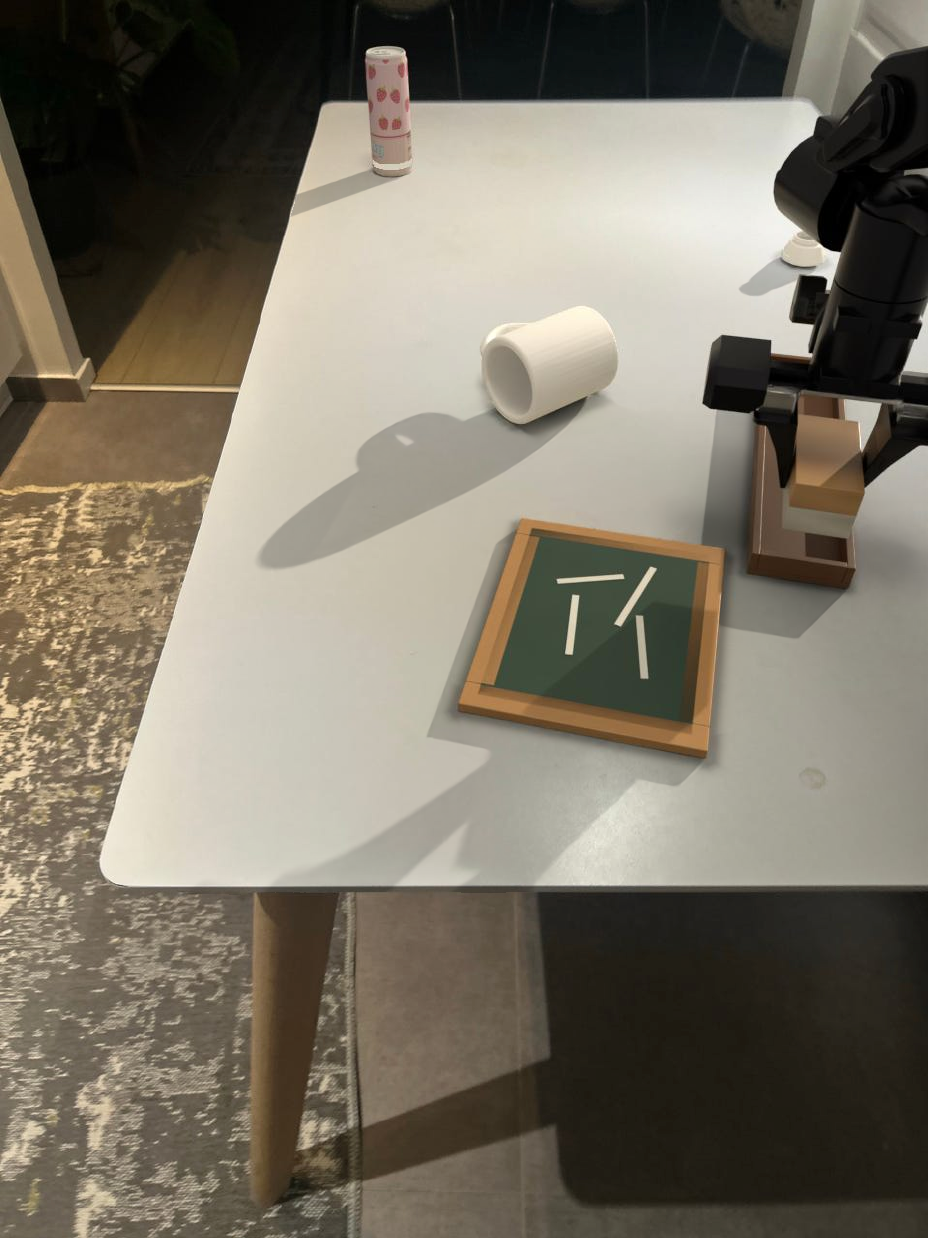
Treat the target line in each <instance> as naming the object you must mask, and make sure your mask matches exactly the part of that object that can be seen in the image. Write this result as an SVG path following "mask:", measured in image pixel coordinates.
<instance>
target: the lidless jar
mask: <svg viewBox="0 0 928 1238" xmlns="http://www.w3.org/2000/svg"><path fill="white" fill-rule="evenodd" d="M783 248H784V250H783ZM783 248H782V249H781V250H780V258H781V260H783V261H784V262H785V263H788V264H790V265H791V266H796V267H803V268H809V267H810V268H811V267H815V266H819V265H821V264H823V263H824V262H825V261H826V252H825V248H824V247H823V246H821V245H820V244H819V243H818V242H816V241H815V240H814V239H813V238H811V237H810V236H809V235H808V234H806V233H805V232H804V231H803V230H798V231H796V232H794V234H793V236H792V237H791V238H790V239H789V240H788V242H787V243H786V244H785V245H784V247H783ZM783 251H784V252H785V254H786V255H788V256H789V257H788V256H786V255H785V254H784V253H783ZM824 252H825V253H824ZM824 255H825V256H824Z"/></svg>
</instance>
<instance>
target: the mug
mask: <svg viewBox="0 0 928 1238" xmlns="http://www.w3.org/2000/svg"><path fill="white" fill-rule="evenodd" d="M479 354H480V356H481V375H482V381H483V384H484V388H485V390H486V392H487V393H486V394H487V395H488V397H489V400H490V401H491V403H492V404H493V406H494V407H495V409H496V410H497V412H499V414H501V416H502V417H504V418H505V419H506V420H508V421H509V422H510V423H513V424H517V425H525V424H528V423H530V422H532V421H535V420H537V419H539V418H542V417H543V416H546V415H548V414H551V413H553V412H555V411H557V410H559V409H562V408H564V407H566V406H568V405H571V404H573V403H575V402H577V401H579V400H582V399H584V398H586V397H588V396H591V395H594V394H595V393H599V392H600V391H602V390H604V389H606V388H608V386H610V385H611V384H612V382H613V381H614V379H615V377H616V376H617V372H618V368H619V350H618V344H617V341H616V338H615V335H614V332H613V330H612V328H611V327H610V325H609V323H608V322H607V320H606V319H605V318H604V317H603V316H602V315H601V313H599V312H598V311H597V310H595V309H593V308H591V307H589V306H585V305H577V306H573V307H571V308H568V309H565V310H563V311H560V312H558V313H555V314H552V315H549V316H548V317H545V318H541V319H539V320H537V321H535V322H534V321H533V322H532V323H528V322H510V323H504V324H501V325H498V326H496V327H494V328H493V329H491V330H490V331H489V332H488V333H487V334H486V335H485V336H484V337H483V339H482V341H481V342H480V345H479Z"/></svg>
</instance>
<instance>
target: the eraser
mask: <svg viewBox="0 0 928 1238" xmlns="http://www.w3.org/2000/svg"><path fill="white" fill-rule="evenodd" d="M865 490H866V488H864V476H863V464H862V442H861V429H860V422H859V421H855V420H849V419H848V420H847V419H846V420H841V419H833V418H825V417H817V416H809V415H801V414H798V427H797V434H796V441H795V447H794V454H793V461H792V468H791V474H790V477H789V480H788V482H787V485H786V487H785V489H784V488H783V510H782V529H786V530H792V531H799V532H806V533H813V534H819V535H826V536H833V537H839V538H846V539H848V538H849V535H850V532H851V530H852V527H853V528H854V524H855V523H856V518H857V515H858V513H859V510H860V508H861V505H862V502H863V500H864V497H865V494H866V491H865Z"/></svg>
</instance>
